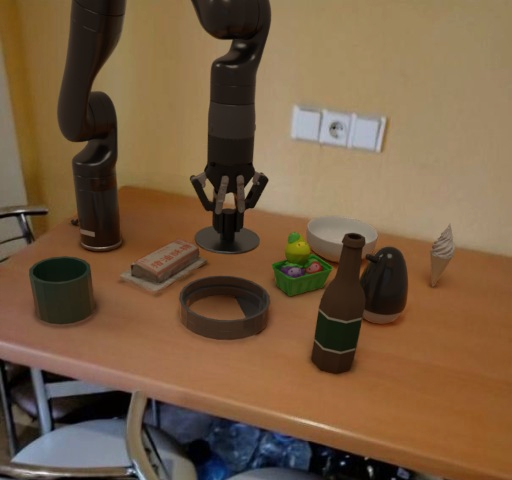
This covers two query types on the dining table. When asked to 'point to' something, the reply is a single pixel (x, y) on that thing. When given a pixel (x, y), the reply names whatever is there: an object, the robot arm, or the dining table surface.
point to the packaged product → (164, 266)
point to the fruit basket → (300, 268)
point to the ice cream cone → (441, 254)
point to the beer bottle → (341, 311)
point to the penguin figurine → (385, 285)
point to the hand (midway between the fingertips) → (227, 230)
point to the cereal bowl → (337, 235)
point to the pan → (245, 292)
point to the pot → (62, 290)
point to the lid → (227, 237)
